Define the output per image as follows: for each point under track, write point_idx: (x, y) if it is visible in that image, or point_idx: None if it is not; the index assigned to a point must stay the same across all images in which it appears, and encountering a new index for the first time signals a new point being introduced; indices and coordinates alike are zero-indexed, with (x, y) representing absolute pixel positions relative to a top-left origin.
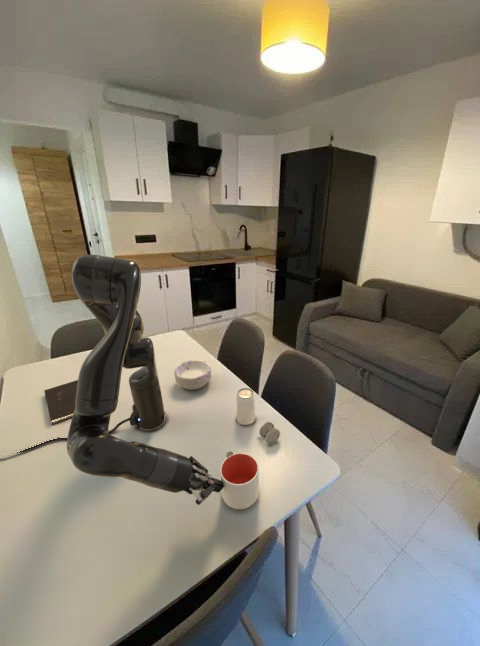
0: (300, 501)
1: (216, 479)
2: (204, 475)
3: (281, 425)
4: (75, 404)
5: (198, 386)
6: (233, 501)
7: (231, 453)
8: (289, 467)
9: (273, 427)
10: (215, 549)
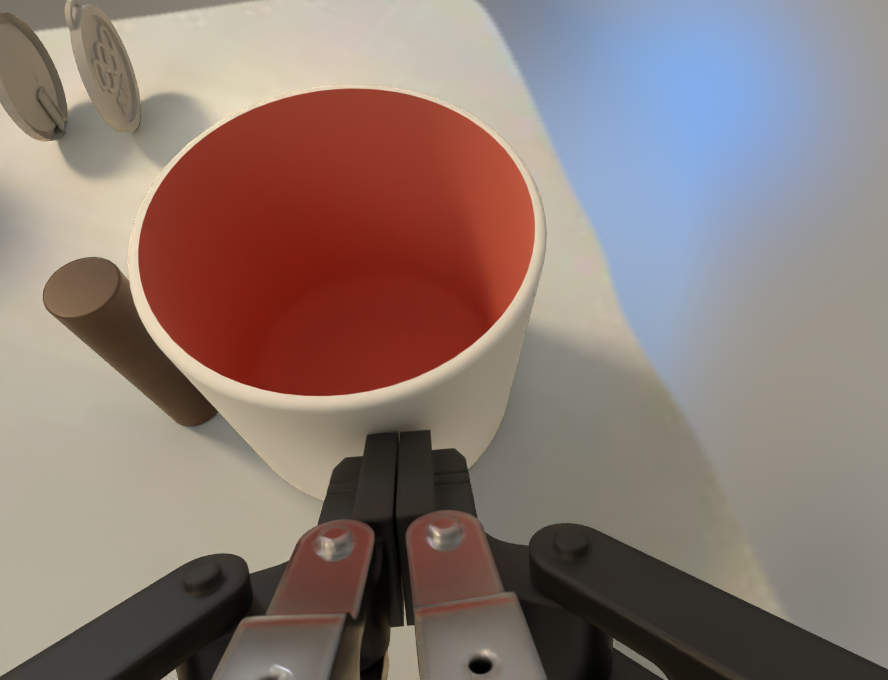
0: (546, 136)
1: (365, 479)
2: (346, 650)
3: (54, 46)
4: None
5: None
6: (489, 426)
7: (83, 271)
8: None
9: (43, 51)
10: None
